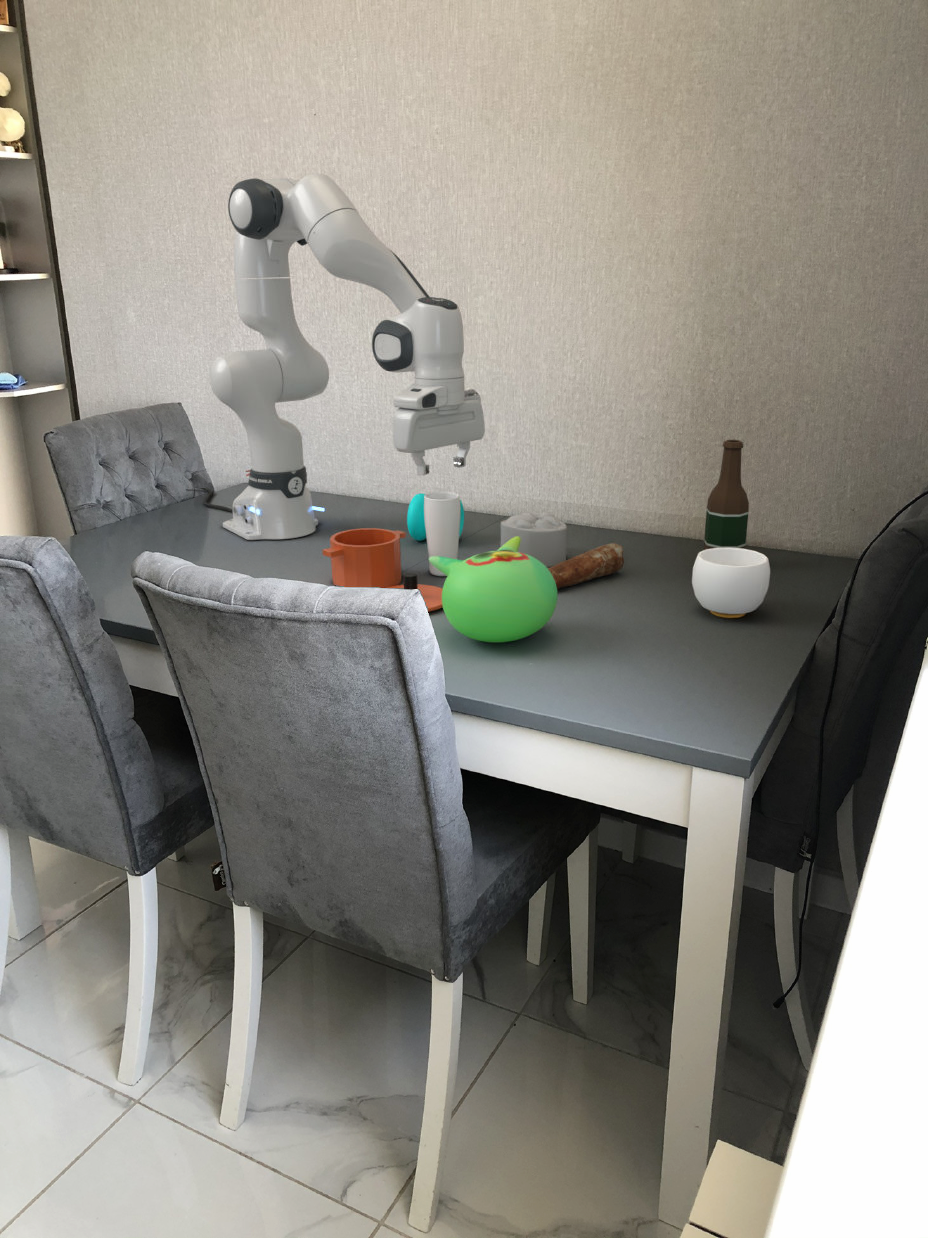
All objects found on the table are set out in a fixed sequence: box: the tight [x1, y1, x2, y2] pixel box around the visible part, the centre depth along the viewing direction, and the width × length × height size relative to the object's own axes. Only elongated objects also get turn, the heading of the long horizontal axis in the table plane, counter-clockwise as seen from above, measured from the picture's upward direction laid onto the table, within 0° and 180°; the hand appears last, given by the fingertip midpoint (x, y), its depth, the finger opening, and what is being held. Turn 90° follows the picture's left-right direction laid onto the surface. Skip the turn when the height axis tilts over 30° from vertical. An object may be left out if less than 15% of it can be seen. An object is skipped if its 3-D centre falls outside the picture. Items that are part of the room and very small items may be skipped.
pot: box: [322, 527, 407, 588], centre depth 178 cm, size 13×18×8 cm
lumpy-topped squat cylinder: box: [500, 511, 568, 568], centre depth 190 cm, size 10×13×9 cm
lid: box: [387, 572, 443, 612], centre depth 167 cm, size 14×14×5 cm
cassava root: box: [547, 542, 625, 590], centre depth 177 cm, size 6×19×6 cm, turn 128°
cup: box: [691, 548, 771, 619], centre depth 160 cm, size 12×12×10 cm
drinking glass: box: [424, 491, 461, 577], centre depth 181 cm, size 7×7×15 cm
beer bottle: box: [702, 439, 750, 551], centre depth 182 cm, size 8×8×24 cm
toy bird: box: [428, 536, 558, 643], centre depth 149 cm, size 18×17×15 cm
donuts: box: [406, 493, 465, 542], centre depth 203 cm, size 10×10×10 cm
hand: (441, 470), depth 177 cm, fingers open, 8 cm apart
